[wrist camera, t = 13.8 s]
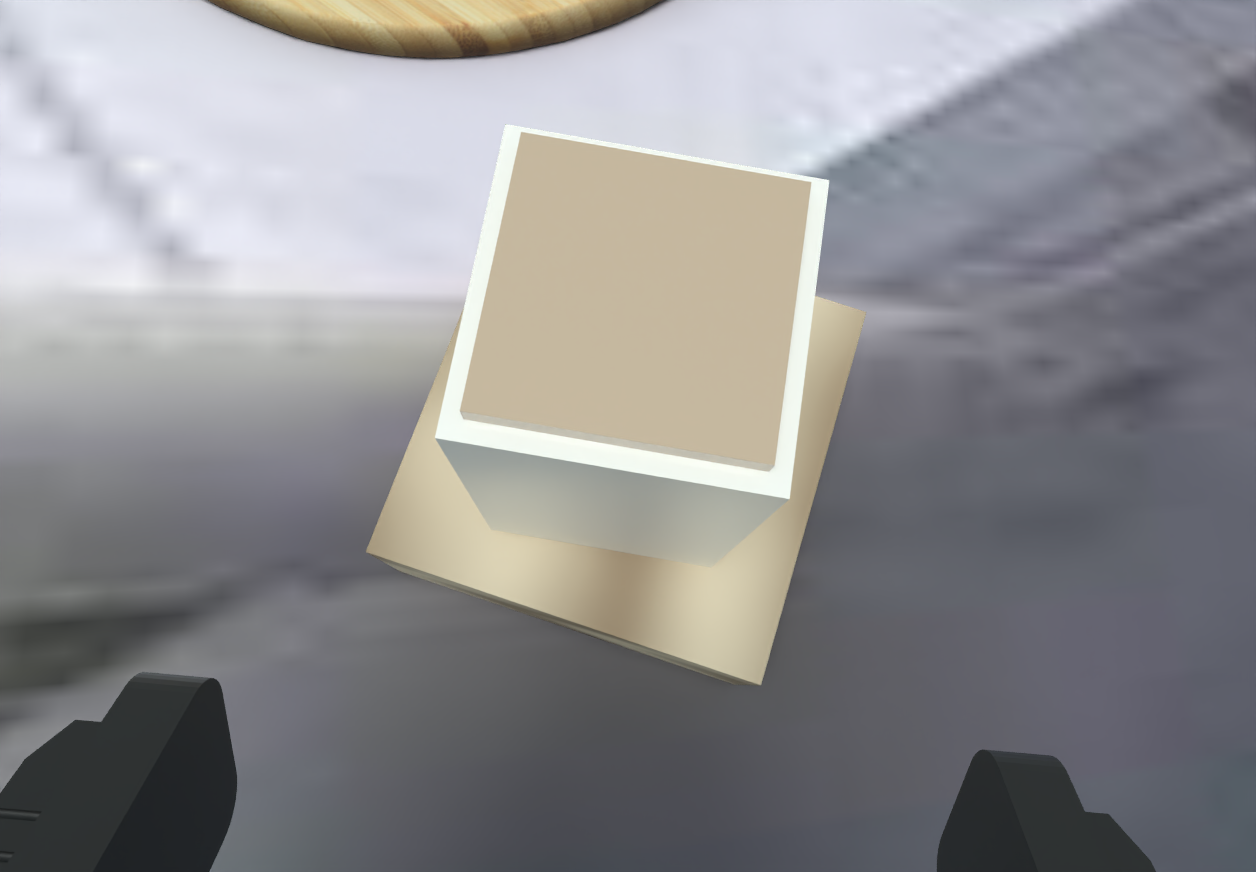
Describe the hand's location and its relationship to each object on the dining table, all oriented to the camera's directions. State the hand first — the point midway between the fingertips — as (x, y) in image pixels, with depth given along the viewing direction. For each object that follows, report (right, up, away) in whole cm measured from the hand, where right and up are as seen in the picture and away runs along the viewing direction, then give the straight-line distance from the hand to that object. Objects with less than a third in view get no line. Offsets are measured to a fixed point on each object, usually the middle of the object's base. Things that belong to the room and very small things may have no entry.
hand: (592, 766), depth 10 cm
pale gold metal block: (0, +3, +21) cm, 21 cm away
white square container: (0, +3, +16) cm, 16 cm away
